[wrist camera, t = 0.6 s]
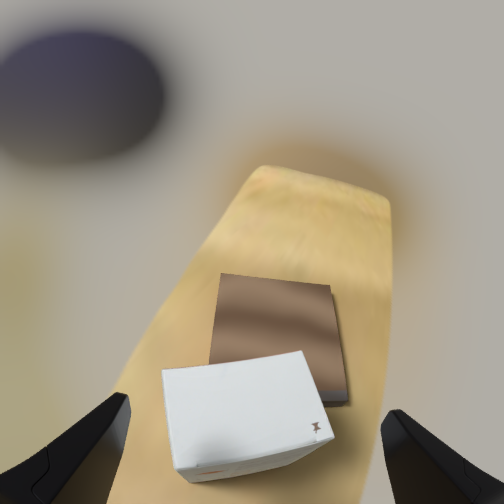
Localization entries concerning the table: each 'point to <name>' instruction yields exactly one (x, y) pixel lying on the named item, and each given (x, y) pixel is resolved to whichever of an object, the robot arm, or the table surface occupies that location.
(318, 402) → the small box
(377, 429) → the table surface
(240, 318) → the floor panel
